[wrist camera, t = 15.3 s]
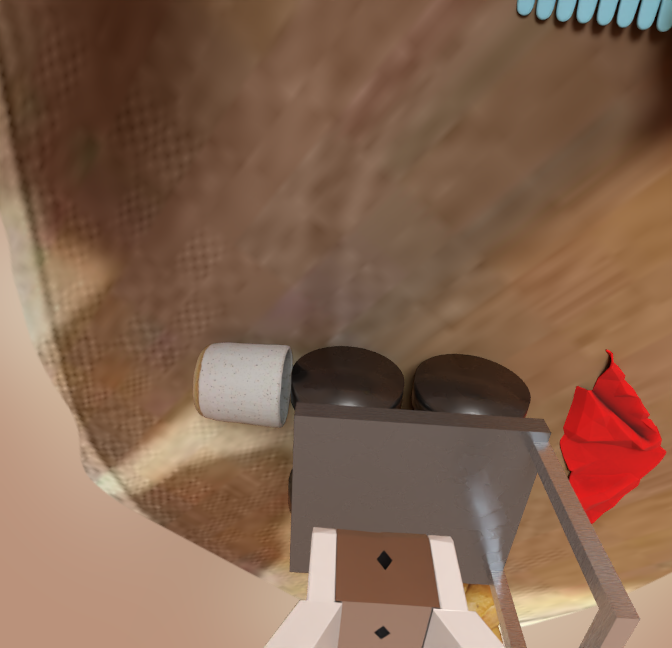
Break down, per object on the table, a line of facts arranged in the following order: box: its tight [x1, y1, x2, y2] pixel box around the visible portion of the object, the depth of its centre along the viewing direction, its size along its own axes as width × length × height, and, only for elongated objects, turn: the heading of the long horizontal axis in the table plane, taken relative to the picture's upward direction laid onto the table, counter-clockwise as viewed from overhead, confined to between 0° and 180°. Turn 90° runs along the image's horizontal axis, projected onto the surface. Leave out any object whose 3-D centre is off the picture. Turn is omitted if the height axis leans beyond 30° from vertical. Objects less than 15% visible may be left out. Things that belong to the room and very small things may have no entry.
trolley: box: [288, 346, 640, 648], centre depth 40 cm, size 21×18×26 cm
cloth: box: [560, 350, 666, 524], centre depth 53 cm, size 26×14×2 cm, turn 175°
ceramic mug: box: [193, 342, 292, 428], centre depth 47 cm, size 11×8×8 cm
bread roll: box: [463, 583, 503, 644], centre depth 61 cm, size 13×10×8 cm
